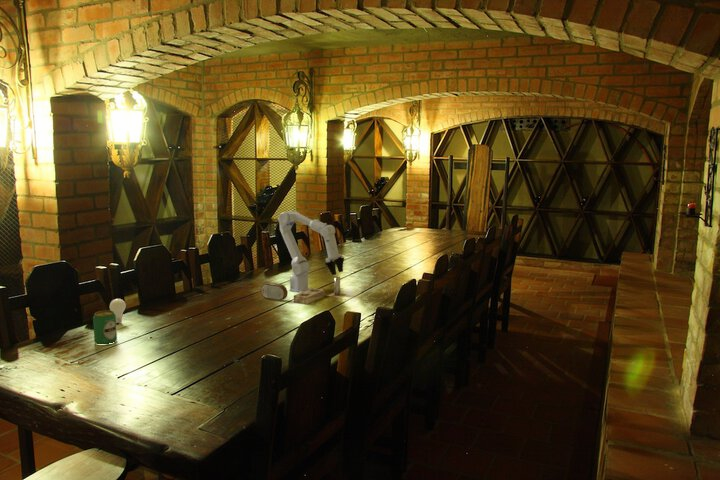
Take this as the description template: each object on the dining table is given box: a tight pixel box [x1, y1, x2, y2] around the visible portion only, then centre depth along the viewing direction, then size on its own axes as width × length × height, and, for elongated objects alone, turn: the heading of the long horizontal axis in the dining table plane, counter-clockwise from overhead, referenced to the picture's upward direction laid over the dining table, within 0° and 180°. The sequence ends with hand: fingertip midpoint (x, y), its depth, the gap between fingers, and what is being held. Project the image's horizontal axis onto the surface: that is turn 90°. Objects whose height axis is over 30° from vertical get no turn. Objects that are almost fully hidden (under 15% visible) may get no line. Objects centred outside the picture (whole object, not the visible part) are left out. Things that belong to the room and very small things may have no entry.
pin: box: [333, 276, 341, 296], centre depth 289 cm, size 3×3×10 cm
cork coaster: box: [326, 292, 348, 299], centre depth 289 cm, size 8×8×1 cm
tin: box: [260, 281, 288, 301], centre depth 280 cm, size 15×3×8 cm, turn 65°
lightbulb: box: [109, 298, 127, 324], centre depth 237 cm, size 6×6×11 cm
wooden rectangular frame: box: [293, 287, 326, 305], centre depth 281 cm, size 8×18×4 cm, turn 154°
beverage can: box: [92, 309, 118, 344], centre depth 214 cm, size 8×8×12 cm
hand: (337, 273), depth 287 cm, fingers open, 7 cm apart
